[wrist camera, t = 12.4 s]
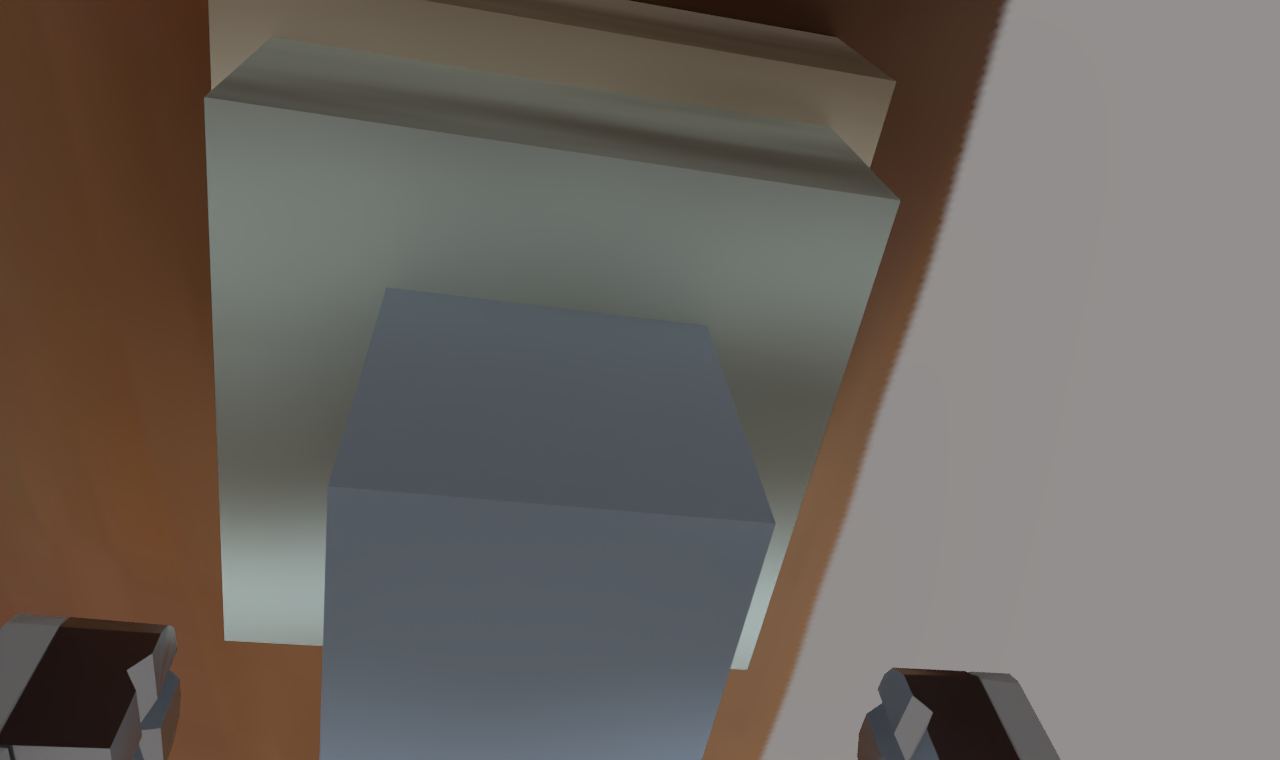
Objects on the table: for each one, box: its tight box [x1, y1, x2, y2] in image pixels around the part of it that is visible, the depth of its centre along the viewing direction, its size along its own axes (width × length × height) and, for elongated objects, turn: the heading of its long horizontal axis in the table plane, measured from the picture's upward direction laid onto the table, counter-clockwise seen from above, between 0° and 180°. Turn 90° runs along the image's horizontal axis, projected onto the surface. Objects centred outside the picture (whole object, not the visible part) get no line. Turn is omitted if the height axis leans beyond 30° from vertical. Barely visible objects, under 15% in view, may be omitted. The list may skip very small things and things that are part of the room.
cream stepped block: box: [204, 0, 901, 670], centre depth 20 cm, size 12×12×8 cm
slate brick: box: [320, 287, 776, 760], centre depth 14 cm, size 5×5×5 cm
